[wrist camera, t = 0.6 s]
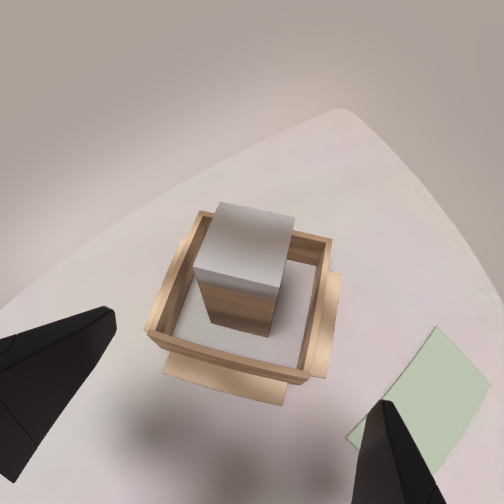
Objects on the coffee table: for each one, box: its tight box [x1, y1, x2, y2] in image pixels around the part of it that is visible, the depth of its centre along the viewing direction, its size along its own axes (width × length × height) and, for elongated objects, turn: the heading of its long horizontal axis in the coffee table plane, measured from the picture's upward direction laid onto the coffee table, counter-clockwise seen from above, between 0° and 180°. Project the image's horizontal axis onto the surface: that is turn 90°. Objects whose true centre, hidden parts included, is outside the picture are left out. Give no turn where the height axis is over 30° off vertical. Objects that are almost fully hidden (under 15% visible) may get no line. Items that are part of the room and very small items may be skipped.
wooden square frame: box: [144, 211, 342, 406], centre depth 25 cm, size 16×16×4 cm
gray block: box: [193, 202, 295, 338], centre depth 22 cm, size 5×5×10 cm
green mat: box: [345, 326, 491, 476], centre depth 20 cm, size 14×10×1 cm
